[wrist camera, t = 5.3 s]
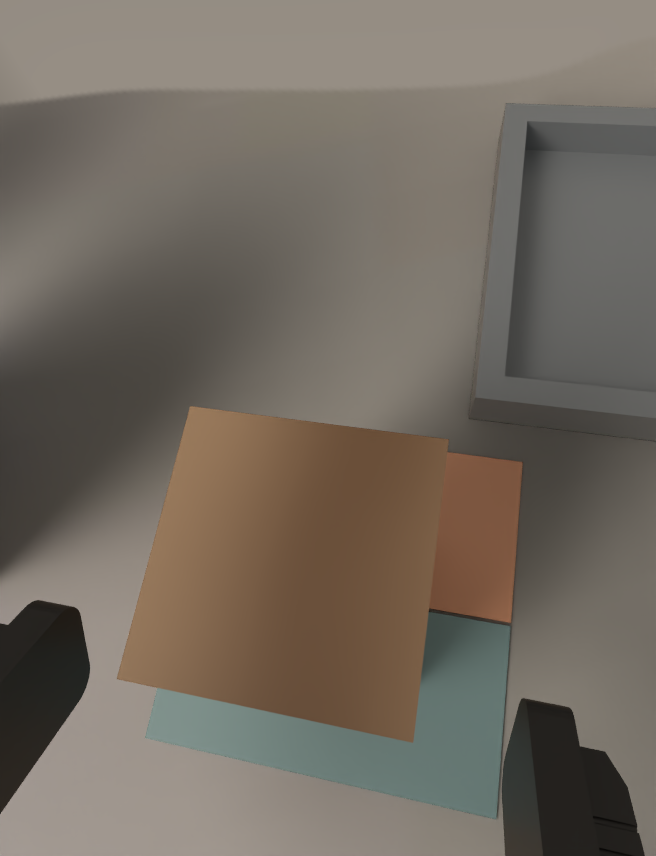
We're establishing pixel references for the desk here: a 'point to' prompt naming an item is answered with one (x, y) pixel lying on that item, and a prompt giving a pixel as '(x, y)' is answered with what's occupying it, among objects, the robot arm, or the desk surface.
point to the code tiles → (440, 679)
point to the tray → (571, 273)
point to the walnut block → (293, 570)
